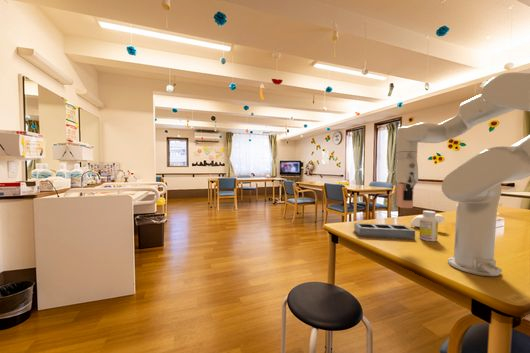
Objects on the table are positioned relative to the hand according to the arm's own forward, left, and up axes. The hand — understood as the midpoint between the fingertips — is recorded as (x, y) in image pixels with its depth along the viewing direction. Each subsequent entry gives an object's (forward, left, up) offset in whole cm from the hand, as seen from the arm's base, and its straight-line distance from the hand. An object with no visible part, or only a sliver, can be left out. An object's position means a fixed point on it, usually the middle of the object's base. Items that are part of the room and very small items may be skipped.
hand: (404, 199), depth 95 cm
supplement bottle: (+8, -14, -19) cm, 25 cm away
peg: (0, 0, -3) cm, 3 cm away
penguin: (+28, -24, -20) cm, 41 cm away
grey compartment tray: (+12, +4, -19) cm, 23 cm away
